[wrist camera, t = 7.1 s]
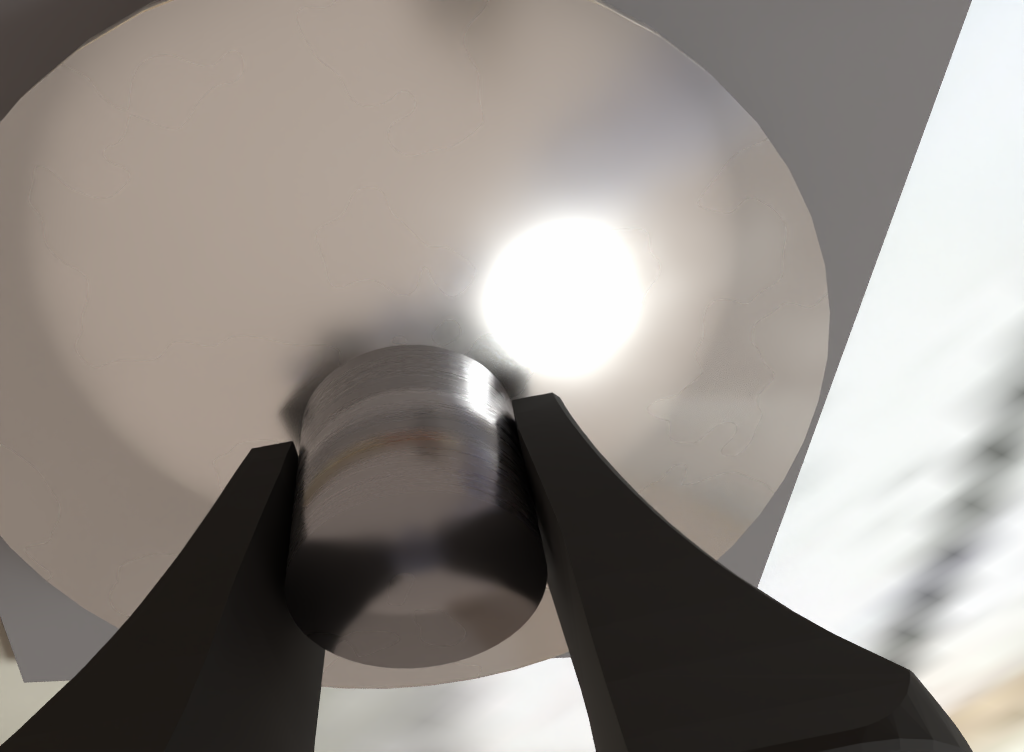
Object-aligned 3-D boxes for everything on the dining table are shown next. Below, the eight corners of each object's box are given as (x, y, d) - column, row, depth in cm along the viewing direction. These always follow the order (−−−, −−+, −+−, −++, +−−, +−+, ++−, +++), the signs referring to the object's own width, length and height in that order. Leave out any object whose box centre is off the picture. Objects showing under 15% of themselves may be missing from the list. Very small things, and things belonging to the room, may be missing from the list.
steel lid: (865, -135, 9) (1080, -90, 7) (781, 594, 17) (862, 760, 14) (-303, 50, 9) (-620, 186, 6) (152, 713, 17) (106, 909, 14)
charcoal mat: (985, -110, 12) (1011, -106, 12) (726, 629, 21) (734, 649, 20) (-275, -247, 10) (-312, -251, 9) (33, 659, 18) (23, 682, 18)
